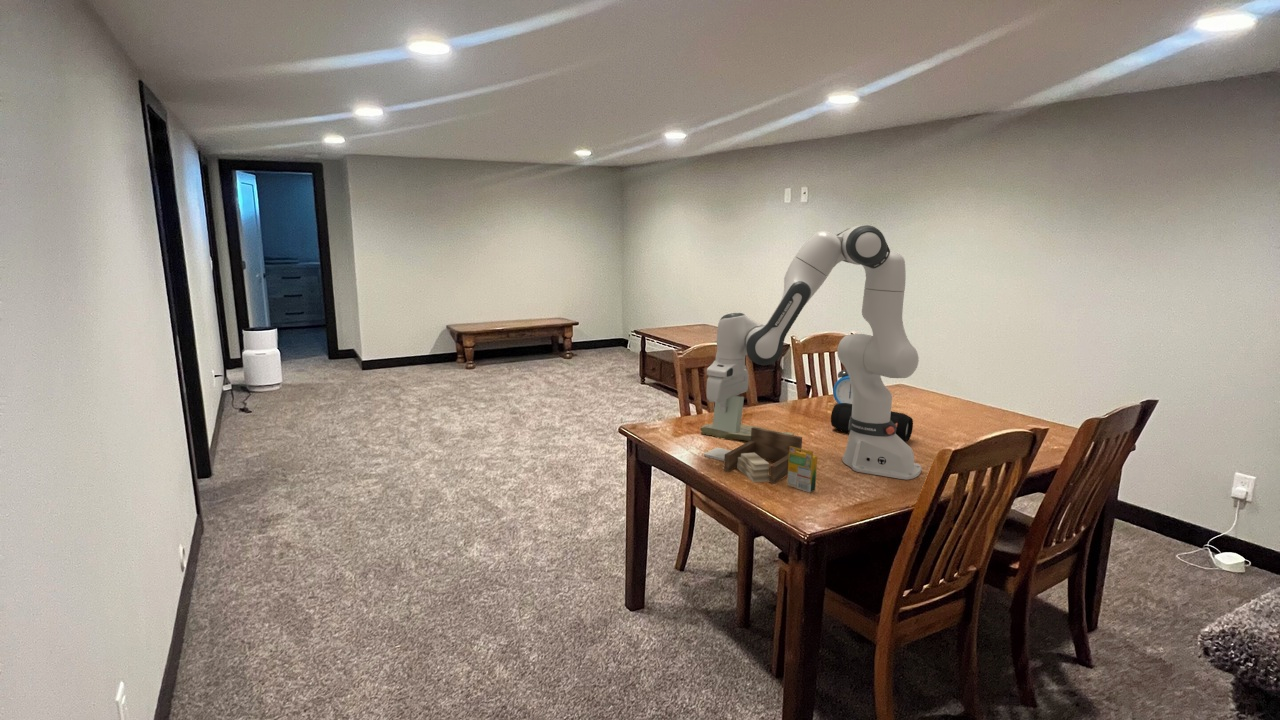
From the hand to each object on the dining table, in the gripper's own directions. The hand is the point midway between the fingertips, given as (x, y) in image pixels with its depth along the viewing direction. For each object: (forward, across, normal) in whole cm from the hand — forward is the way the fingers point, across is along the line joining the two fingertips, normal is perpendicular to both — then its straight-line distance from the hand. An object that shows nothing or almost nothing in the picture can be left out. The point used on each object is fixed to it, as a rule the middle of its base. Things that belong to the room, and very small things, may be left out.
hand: (727, 410), depth 205 cm
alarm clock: (+14, -82, +11) cm, 84 cm away
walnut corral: (+15, +3, +14) cm, 20 cm away
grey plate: (+15, 0, 0) cm, 15 cm away
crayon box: (+15, +9, +29) cm, 33 cm away
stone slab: (+15, -22, -4) cm, 27 cm away
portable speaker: (+14, -51, +29) cm, 60 cm away
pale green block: (+6, +1, 0) cm, 6 cm away
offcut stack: (+15, +8, +14) cm, 22 cm away
